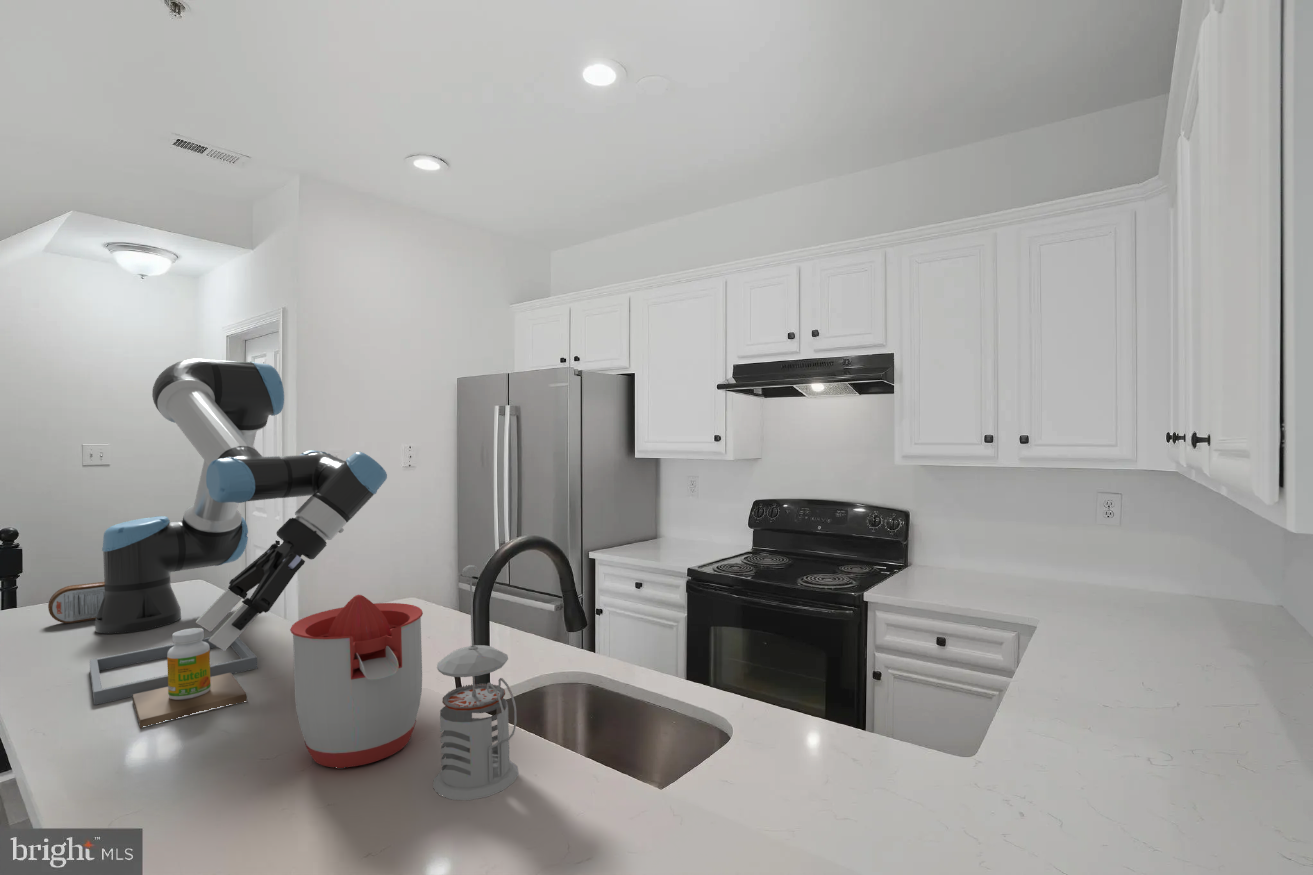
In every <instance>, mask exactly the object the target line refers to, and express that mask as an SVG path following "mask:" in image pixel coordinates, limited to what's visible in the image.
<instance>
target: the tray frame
mask: <svg viewBox="0 0 1313 875" xmlns="http://www.w3.org/2000/svg"><path fill="white" fill-rule="evenodd" d="M211 637H212V636H209V637H208V636H207V637H204V639H202V641H203V642H206V643H208V644H209V647H210V649H214V648H213V647H215V648H219V647H218V646H216V645H214V644H213V643H211V642H209V639H210V638H211ZM172 647H174V644H173V643H171V644H166V645H160V646H155V647H149V648H145V649H141V650H134V651H129V652H125V653H119V654H114V655H109V656H108V655H107V656H103V657H97V658H93V659H89V674H90V681H91V691H92V696H93V697H92V698H93V705H94V706H97V705H100V704H101V705H102V704H105V703H111V702H113V701H119V700H123V699H128V698H133V694H137V693H142V692H146V691H151V690H155V689H159V688H164V687H168V674H165V675H160V676H156V677H155V676H154V677H150V678H146V679H141V680H136V681H133V682H132V681H131V682H127V683H123V684H117V685H112V686H108V687H104V688H103V687H102V680H101V674H100V671H105V670H109V669H115V668H121V667H124V665H125V666H130V665H134V663H135V664H140V663H144V662H149V661H154V660H155V661H156V660H159V659H164V658H167V653H168V651H169V649H170V648H172ZM229 647H230V648H232V649H233V651H234V652H235V653H236V654H237V656H238V657H239V658H240V659H239V658H238V659H235V660H230V661H226V662H225V661H224V662H220V663H216V664H210V677H213V676H217V675H222V674H226V673H231V674H232V675H234V674H239V673H242V672H246V670H248V671H251V669H252V670H256V669H258V657H257V655H256V654H255V653H254V651H252V650H251V649H250V648H249V647H248V645H246V643H244V642H243V640H242V639H241V638H240V636H238V637H237V638H236V639H235V640H234V642H233V643H232V644H231V645H230V646H229ZM114 667H115V668H114ZM238 672H239V673H238Z"/></svg>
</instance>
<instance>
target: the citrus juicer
mask: <svg viewBox="0 0 1313 875" xmlns="http://www.w3.org/2000/svg"><path fill="white" fill-rule="evenodd" d="M423 614H424V613H423V610H422V609H421V608H420V607H419V606H416V605H414V604H410V603H400V602H379V603H378V602H377V603H373V602H372V601H371V600H370V599H368V598H367V597H365V596H364V595H363V594H355V595H354V596H353V597H351V598H350V600H349V601H348V602H347V603H346V604H345V605H344V606H343V607H338V608H332V609H328V610H324V611H320V612H317V613H314V614H310V615H308V616H305V617H302V619H299V620H297V621H296V622H294V623H293V624H292V625H291V627H290V629H289V631H290V632H291V634H292V646H293V675H294V676H293V677H294V678H293V680H294V681H293V682H294V700H295V701H294V702H295V711H296V715H297V720H298V725H299V728H300V731H301V733H302V734H301V735H302V736H303V738H304V744H305V748H306V749H307V751H308V753H309V755H310V756H311V758H312V760H313V761H314V762H315V763H317V764H319V765H320V766H323V767H330V768H334V767H337V768H344V767H347V768H351V767H359V766H363V765H368V764H371V763H375V762H378V761H380V760H384V759H385V758H389V757H390V756H392V755H394V754H396V753H398V752H400V751H402V750H403V749H404V747H406V745H407V744H408V743H409V742H410V739H411V737H412V735H413V731H414V729H415V725H416V724H417V718H418V717H417V716H418V713H419V709H420V705H421V699H422V698H421V697H422V691H423V657H422V656H423V655H422V653H423V652H422V648H423V647H422V622H421V620H422V616H423ZM344 769H345V768H344Z"/></svg>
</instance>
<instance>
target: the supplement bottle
mask: <svg viewBox="0 0 1313 875" xmlns="http://www.w3.org/2000/svg"><path fill="white" fill-rule="evenodd" d="M171 636H172V640H171V641H172V644H174V647H172V648H170V649H169V651H168V653H167V657H166V658H167V660H166V662H167V675H168V695H169V698H170V699H173V700H184V699H191V698H194V697H198V696H201V695H203V694H205V693H207V692H208V691H209V690H210V688H211V682H210V665H211V654H210V653H211V652H210V650H211V648H210V647H209V644H208V643H206V642H203V641H202V639H204V638H205V631H204V628H200V627H193V628H185V629H181V630H178V631H175V632H173V633H172V635H171Z"/></svg>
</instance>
